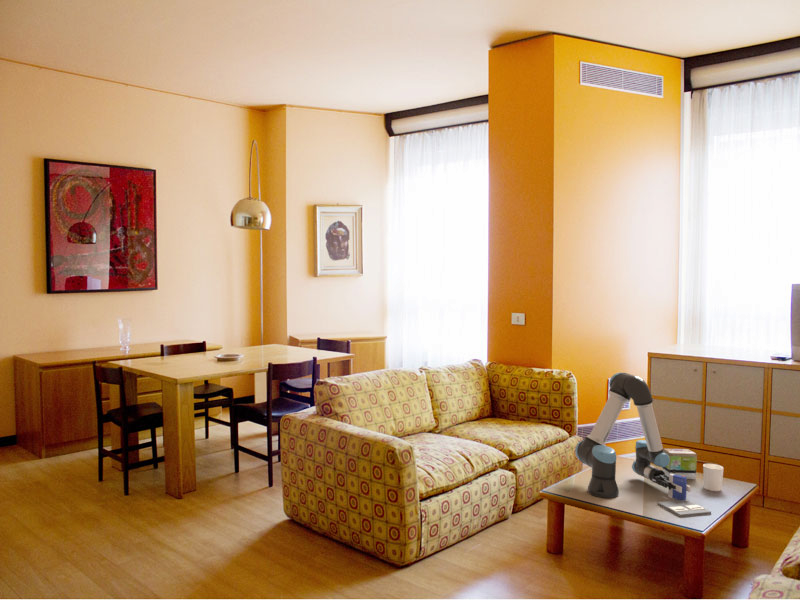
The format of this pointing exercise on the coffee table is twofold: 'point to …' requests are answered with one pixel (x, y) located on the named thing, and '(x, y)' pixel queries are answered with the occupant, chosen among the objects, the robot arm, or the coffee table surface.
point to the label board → (684, 508)
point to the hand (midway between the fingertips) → (685, 489)
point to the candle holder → (712, 477)
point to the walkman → (680, 482)
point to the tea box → (681, 463)
